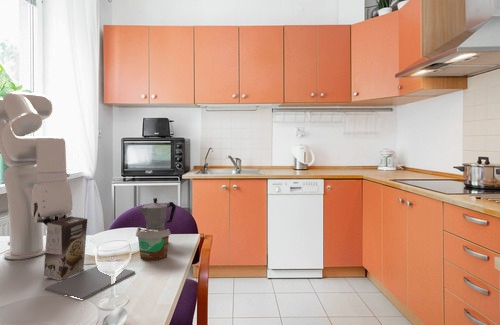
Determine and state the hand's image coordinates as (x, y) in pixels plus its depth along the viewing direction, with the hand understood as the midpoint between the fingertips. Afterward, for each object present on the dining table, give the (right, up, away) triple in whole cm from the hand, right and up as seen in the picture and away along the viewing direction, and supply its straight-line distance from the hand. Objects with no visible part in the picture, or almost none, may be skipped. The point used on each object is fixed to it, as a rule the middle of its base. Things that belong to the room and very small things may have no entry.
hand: (54, 238), depth 94 cm
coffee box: (+3, -10, -1) cm, 11 cm away
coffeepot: (+23, -9, +28) cm, 38 cm away
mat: (+14, -11, -6) cm, 19 cm away
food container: (+25, -10, +11) cm, 29 cm away
